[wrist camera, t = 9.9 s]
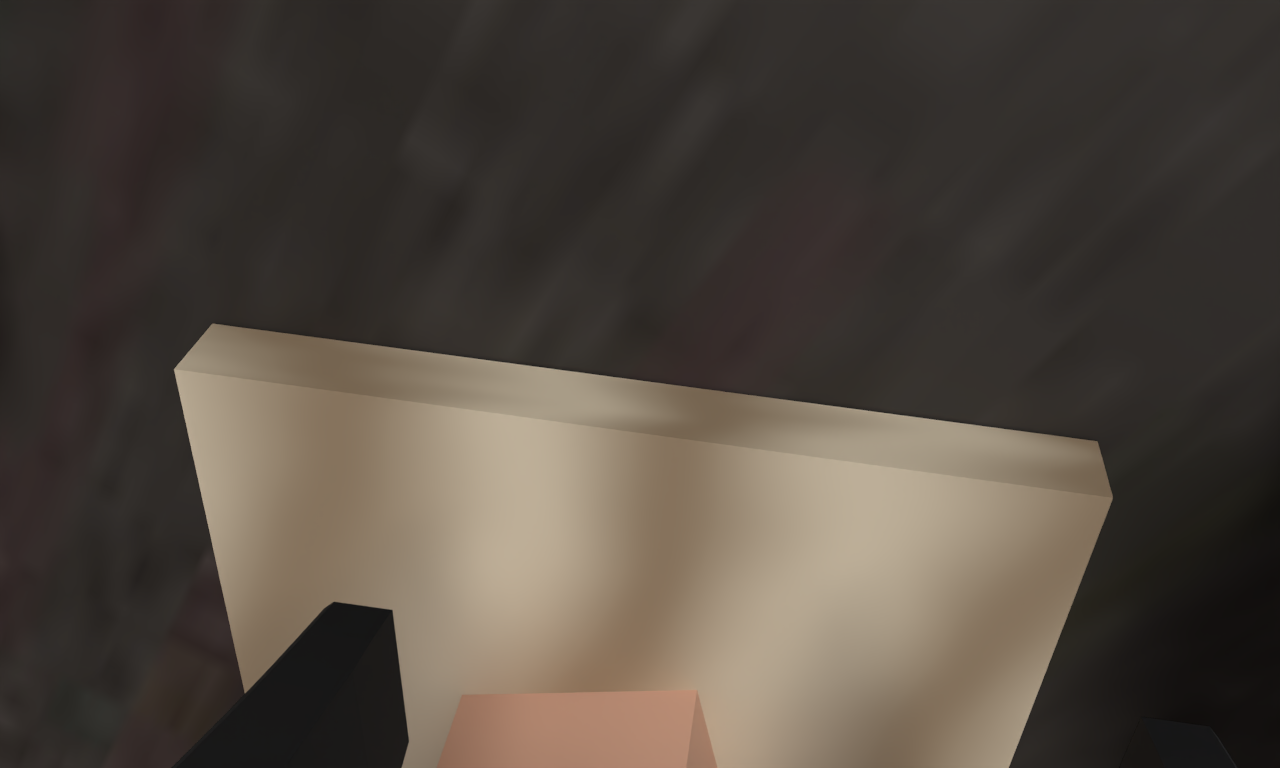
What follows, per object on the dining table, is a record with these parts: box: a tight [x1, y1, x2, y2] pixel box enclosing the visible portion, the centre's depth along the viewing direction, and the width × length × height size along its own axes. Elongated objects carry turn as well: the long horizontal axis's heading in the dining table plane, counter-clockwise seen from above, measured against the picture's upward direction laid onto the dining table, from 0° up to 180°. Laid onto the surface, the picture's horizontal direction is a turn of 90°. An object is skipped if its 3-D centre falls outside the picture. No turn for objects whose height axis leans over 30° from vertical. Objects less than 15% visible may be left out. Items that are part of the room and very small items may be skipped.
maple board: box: [174, 324, 1113, 768], centre depth 26 cm, size 16×19×2 cm
